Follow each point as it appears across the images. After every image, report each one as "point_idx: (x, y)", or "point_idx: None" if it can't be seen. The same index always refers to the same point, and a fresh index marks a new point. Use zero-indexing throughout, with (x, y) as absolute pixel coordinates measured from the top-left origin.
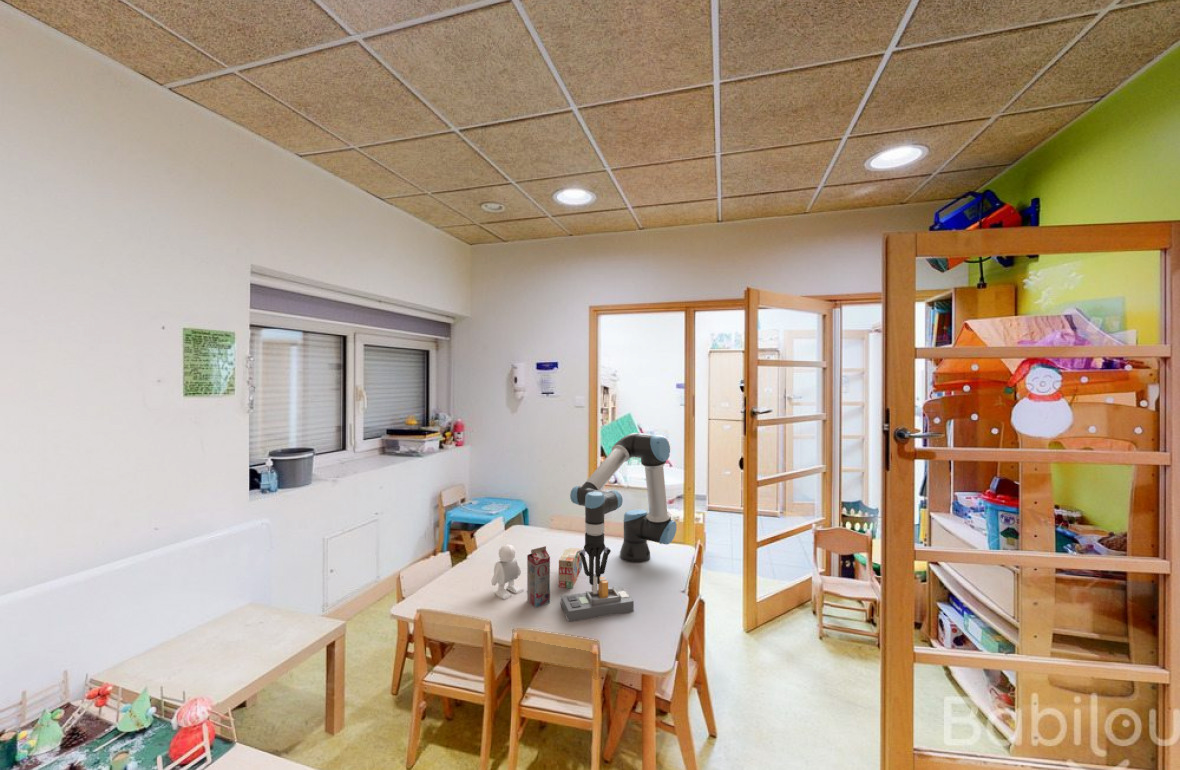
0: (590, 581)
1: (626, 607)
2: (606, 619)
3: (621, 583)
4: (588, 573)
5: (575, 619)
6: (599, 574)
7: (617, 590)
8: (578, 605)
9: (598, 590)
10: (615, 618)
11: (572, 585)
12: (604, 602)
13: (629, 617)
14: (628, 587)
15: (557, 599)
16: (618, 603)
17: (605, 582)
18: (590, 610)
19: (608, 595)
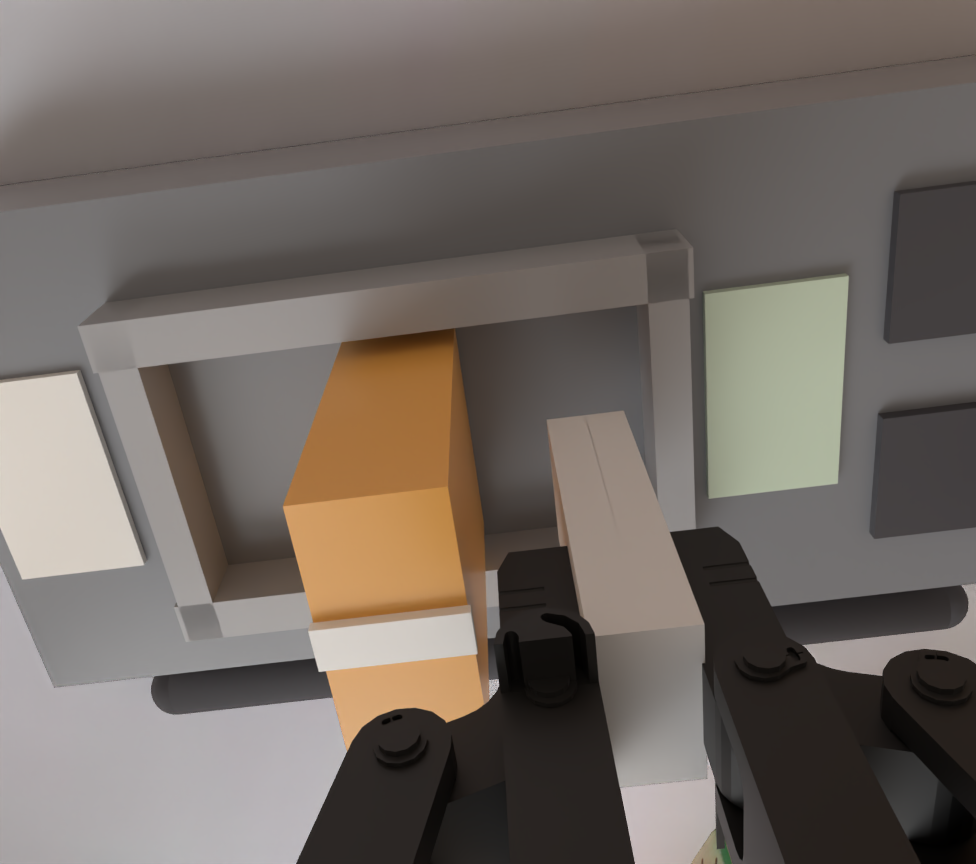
0: (752, 576)
1: (42, 191)
2: (434, 13)
3: (97, 859)
4: (935, 714)
5: (946, 63)
6: (519, 697)
7: (142, 607)
8: (934, 216)
9: (483, 557)
10: (278, 18)
11: (722, 861)
12: (424, 263)
13: (34, 8)
14: (11, 775)
15: (973, 640)
16: (161, 192)
17: (358, 506)
18: (717, 107)
19: None
